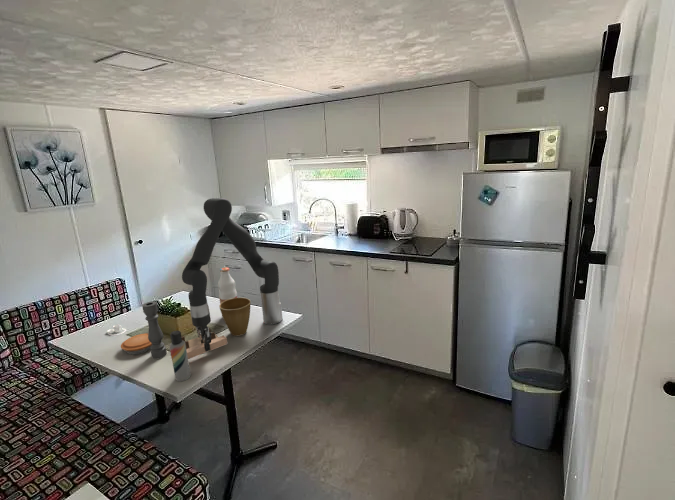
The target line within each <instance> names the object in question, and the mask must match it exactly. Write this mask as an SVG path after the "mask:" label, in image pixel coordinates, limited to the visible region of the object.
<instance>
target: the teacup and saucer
mask: <svg viewBox="0 0 675 500" xmlns="http://www.w3.org/2000/svg"><path fill="white" fill-rule="evenodd" d="M112 327H113V328H112V329H111V328H110V329H108V330H106V333H107V334H108V335H109V336H112V337H113V336H119V335H122V334H124V333H126V332H127V329H126V328H123V326H122V325H121V324H119V323H118V324H114V325H113V326H112ZM122 330H123V331H122ZM121 331H122V332H121ZM115 333H116V334H115Z"/></svg>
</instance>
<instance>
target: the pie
mask: <svg viewBox="0 0 675 500" xmlns="http://www.w3.org/2000/svg"><path fill="white" fill-rule="evenodd" d="M151 346H152V344H151V342H150V341H149V339H148V332H147V333H145V332H144V333H140V334H136V335H133V336H131V337H129V338H127V339H125V340H124V341H123V342H122V343H121V344H120V348H121V350H123V351H125V352H126V353H127V354H129V355H139V354H143V353H146V352H148V351H151Z"/></svg>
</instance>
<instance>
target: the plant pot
mask: <svg viewBox="0 0 675 500" xmlns="http://www.w3.org/2000/svg"><path fill="white" fill-rule="evenodd" d="M219 311H220V313H221V317H222V316H223V318H222V319H223V321H224V324H225V325H226V327H227V329H228V331H229V332H230V334H231V335H232V336H234V337H238V336H240V337H241V336H243V335H245V334H246V333H247V332H248V328H249V321H250V316H251V299H249V298H247V297H237V298H232V299H228V300H226V301H224V302H222V303H221V304H220V303H219Z"/></svg>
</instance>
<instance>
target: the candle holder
mask: <svg viewBox="0 0 675 500" xmlns="http://www.w3.org/2000/svg"><path fill="white" fill-rule="evenodd" d="M141 306H142V311H143V313H144V315H145V316H146V317H145V320H146V321H147V324H148V325H147V326H148V331H147V333H148V339H149V341H150V342H151V344H152V346H151V349H150V355H151V358H152V359H154V360H159V359H163V358H164V357H166V356H167V355H168V353H167V347H166V345H165V343H164V342H163V338H164V333H163V331H162V329H161V327H160V325H159V321H158V318H159V317H160V316H159V314H157V313H158V310H159V309H158V303H157V302H156V301H147V302H144V303H143V304H142V305H141Z"/></svg>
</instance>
